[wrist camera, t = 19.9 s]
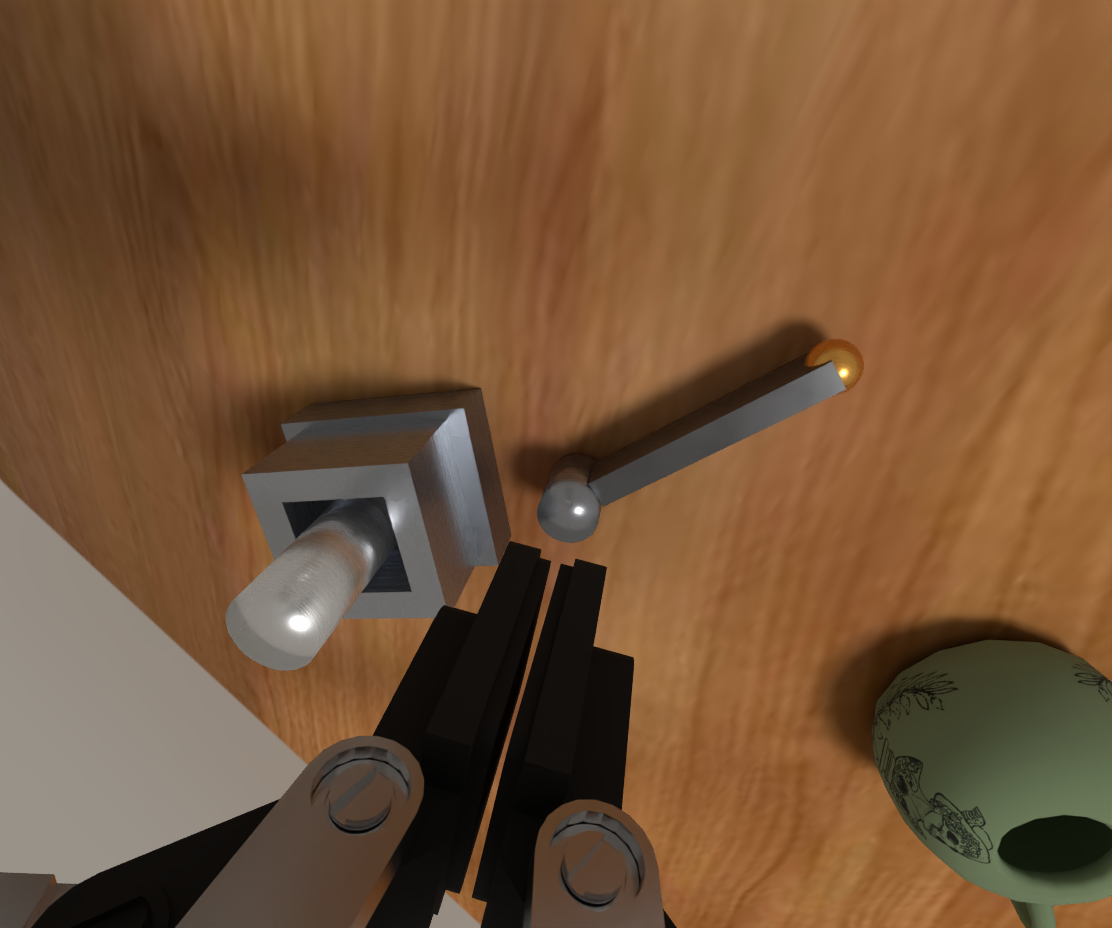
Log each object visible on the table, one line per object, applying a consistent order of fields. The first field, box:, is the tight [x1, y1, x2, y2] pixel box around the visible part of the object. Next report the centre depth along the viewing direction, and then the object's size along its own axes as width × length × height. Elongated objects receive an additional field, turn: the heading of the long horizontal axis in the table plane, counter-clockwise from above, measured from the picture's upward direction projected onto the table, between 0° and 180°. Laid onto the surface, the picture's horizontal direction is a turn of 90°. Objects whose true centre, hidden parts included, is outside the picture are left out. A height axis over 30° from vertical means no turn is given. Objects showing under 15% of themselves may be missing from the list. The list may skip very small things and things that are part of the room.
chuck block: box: [241, 388, 511, 619], centre depth 32 cm, size 9×10×8 cm
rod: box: [226, 497, 398, 670], centre depth 28 cm, size 4×4×11 cm
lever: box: [537, 339, 864, 543], centre depth 30 cm, size 16×3×4 cm, turn 124°
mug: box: [871, 640, 1112, 928], centre depth 33 cm, size 16×13×9 cm
